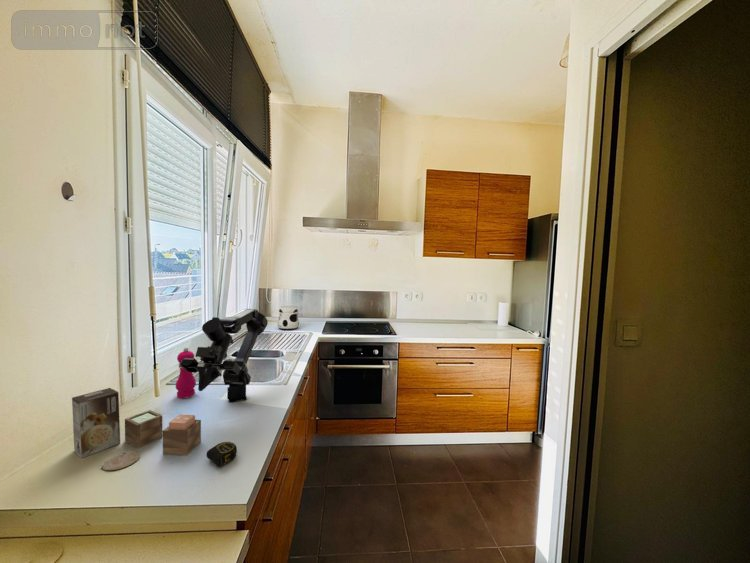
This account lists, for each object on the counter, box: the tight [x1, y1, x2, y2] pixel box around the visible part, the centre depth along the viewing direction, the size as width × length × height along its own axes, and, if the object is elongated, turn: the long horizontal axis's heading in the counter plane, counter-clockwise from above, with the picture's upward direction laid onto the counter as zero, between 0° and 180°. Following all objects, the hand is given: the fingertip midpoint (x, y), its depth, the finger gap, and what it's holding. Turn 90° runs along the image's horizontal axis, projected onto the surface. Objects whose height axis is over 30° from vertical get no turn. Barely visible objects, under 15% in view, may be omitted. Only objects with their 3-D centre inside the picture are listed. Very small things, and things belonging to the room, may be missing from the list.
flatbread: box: [101, 451, 140, 471], centre depth 86 cm, size 8×8×1 cm
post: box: [124, 409, 163, 449], centre depth 97 cm, size 7×7×7 cm
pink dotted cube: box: [168, 413, 196, 430], centre depth 93 cm, size 5×5×5 cm
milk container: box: [277, 305, 300, 331], centre depth 259 cm, size 17×17×18 cm
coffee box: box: [71, 387, 121, 459], centre depth 92 cm, size 9×6×16 cm
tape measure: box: [206, 441, 238, 468], centre depth 89 cm, size 7×7×4 cm
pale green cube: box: [131, 413, 156, 423], centre depth 97 cm, size 5×5×5 cm
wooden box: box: [162, 419, 202, 457], centre depth 93 cm, size 7×7×7 cm
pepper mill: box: [175, 347, 197, 399], centre depth 128 cm, size 7×7×20 cm
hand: (199, 390), depth 102 cm, fingers closed
